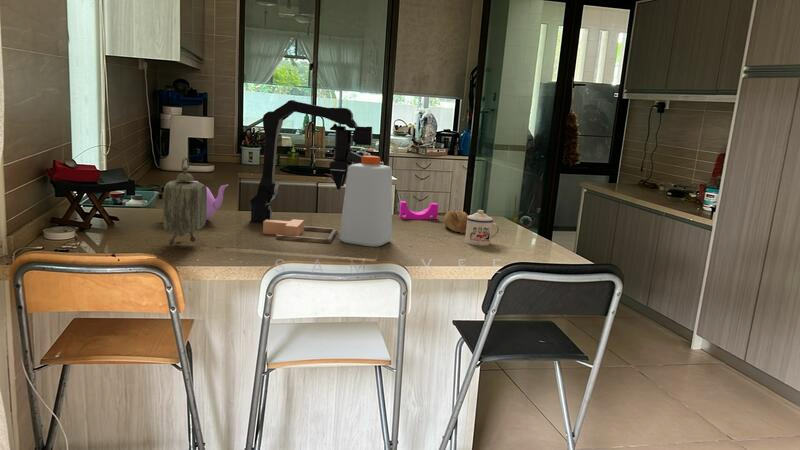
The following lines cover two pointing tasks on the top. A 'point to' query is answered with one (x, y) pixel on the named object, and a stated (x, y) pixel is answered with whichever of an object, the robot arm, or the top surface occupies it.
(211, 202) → the teapot
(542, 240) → the top surface
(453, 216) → the bread roll
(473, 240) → the teacup with lid
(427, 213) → the toy block
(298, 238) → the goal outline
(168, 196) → the tabletop clock
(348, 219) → the plastic bottle
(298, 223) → the t puck
